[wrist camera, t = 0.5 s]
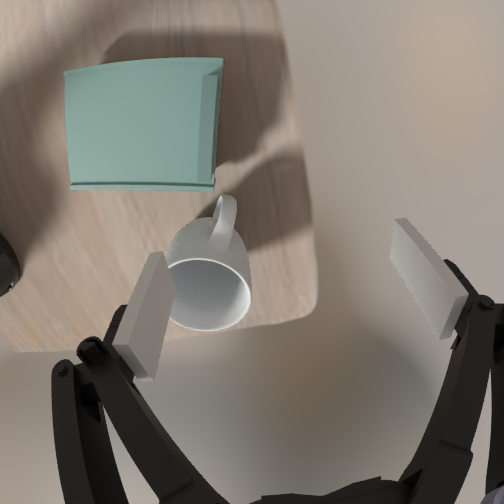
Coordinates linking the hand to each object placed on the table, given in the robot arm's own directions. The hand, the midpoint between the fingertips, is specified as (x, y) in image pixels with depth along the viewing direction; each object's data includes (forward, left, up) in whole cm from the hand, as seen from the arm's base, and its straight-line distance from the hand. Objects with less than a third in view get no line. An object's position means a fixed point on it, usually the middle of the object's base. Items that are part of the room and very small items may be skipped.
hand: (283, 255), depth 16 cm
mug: (-5, -12, -24) cm, 27 cm away
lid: (-14, +4, -21) cm, 25 cm away
